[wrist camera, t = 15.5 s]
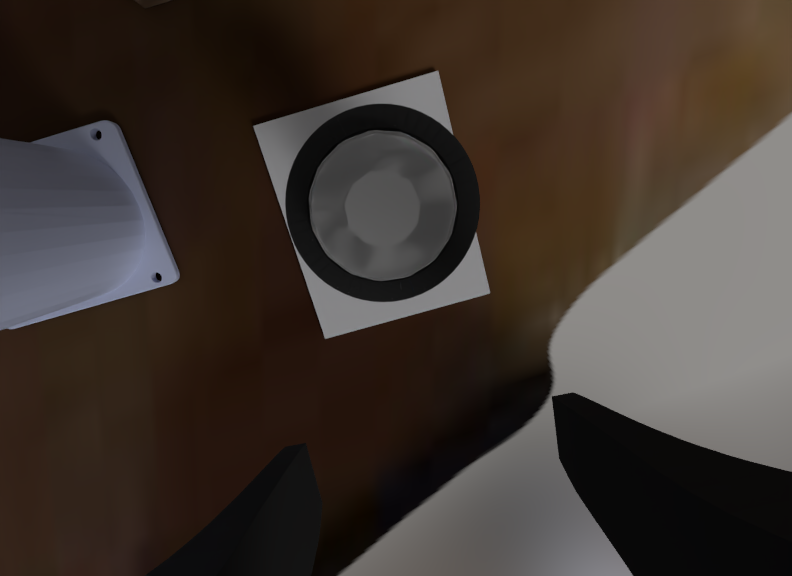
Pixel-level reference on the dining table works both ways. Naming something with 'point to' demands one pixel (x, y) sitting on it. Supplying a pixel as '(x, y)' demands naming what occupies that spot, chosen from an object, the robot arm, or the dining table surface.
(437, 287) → the parts mat
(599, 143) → the dining table surface
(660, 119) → the dining table surface
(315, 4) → the dining table surface
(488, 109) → the dining table surface
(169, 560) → the robot arm
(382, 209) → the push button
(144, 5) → the switch board
